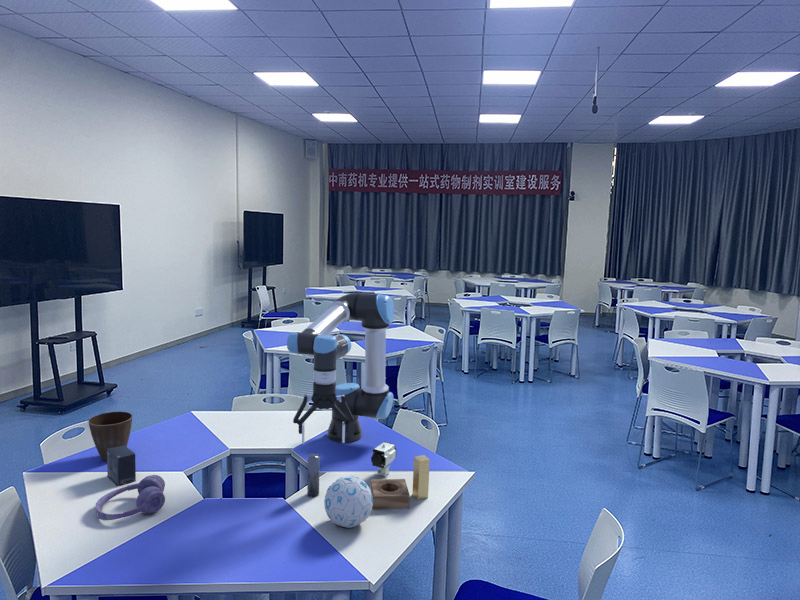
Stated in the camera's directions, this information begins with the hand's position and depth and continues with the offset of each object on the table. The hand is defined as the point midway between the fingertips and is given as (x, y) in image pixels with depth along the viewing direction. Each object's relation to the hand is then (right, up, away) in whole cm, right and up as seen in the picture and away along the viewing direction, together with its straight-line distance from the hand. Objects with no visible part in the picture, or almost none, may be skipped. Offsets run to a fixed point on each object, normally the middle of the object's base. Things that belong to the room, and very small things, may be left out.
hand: (323, 442), depth 186 cm
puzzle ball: (+10, -22, -15) cm, 28 cm away
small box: (-73, -16, +9) cm, 75 cm away
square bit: (+33, -20, +5) cm, 39 cm away
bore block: (+22, -20, +1) cm, 30 cm away
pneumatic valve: (+20, -18, +20) cm, 33 cm away
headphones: (-60, -19, -10) cm, 64 cm away
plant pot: (-85, -13, +26) cm, 90 cm away
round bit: (-4, -19, +3) cm, 20 cm away
